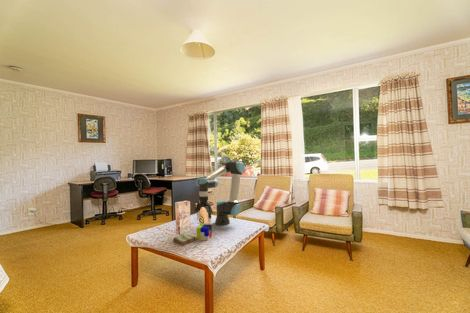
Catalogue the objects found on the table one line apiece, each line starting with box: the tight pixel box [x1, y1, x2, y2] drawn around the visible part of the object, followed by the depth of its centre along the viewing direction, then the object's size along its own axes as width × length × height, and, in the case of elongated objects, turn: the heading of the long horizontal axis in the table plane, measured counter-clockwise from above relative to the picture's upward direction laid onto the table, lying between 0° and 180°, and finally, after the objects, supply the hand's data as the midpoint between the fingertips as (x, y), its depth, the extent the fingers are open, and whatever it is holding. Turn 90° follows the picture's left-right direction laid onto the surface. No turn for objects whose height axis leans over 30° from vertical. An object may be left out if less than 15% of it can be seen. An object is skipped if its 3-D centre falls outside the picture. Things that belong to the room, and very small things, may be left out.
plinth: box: [172, 233, 197, 246], centre depth 180 cm, size 13×13×3 cm
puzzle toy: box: [196, 223, 213, 241], centre depth 186 cm, size 10×10×10 cm
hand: (203, 220), depth 186 cm, fingers open, 13 cm apart
